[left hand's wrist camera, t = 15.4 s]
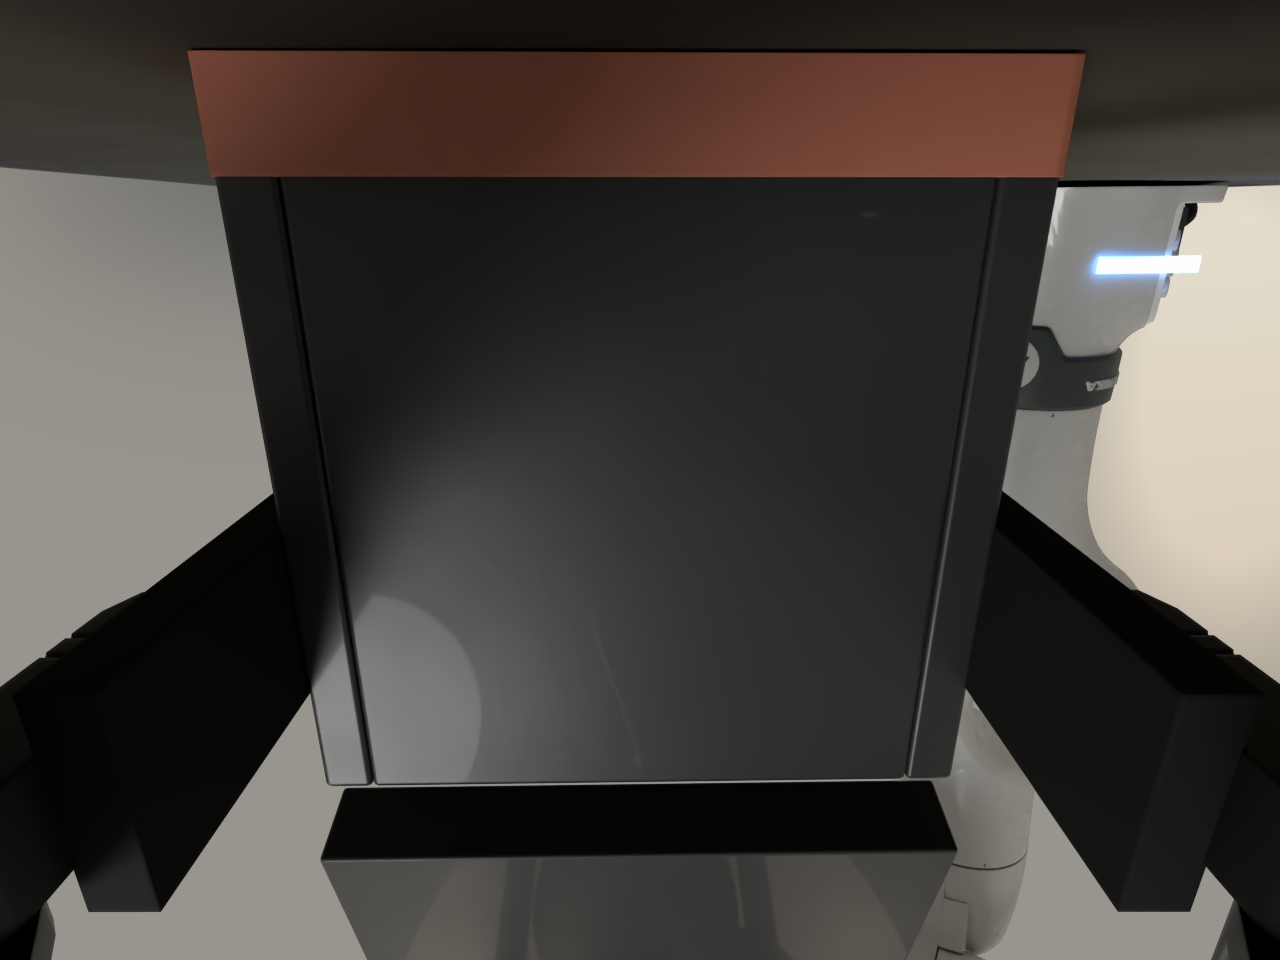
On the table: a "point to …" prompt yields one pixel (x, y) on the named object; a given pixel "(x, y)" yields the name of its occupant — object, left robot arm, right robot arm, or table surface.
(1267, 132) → the table surface
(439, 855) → the lid
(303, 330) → the chest
